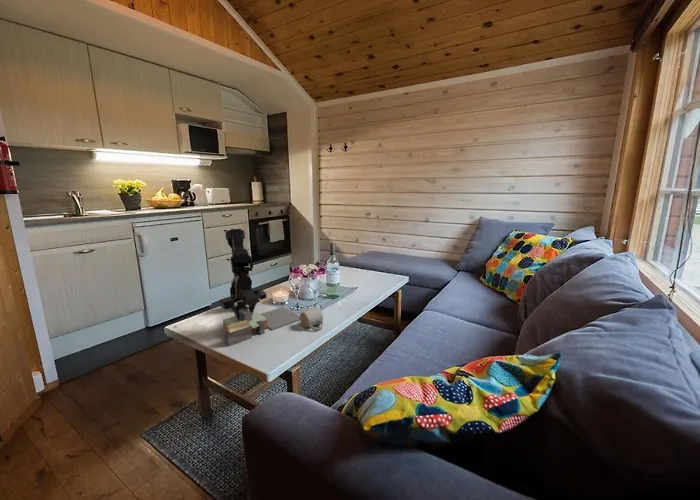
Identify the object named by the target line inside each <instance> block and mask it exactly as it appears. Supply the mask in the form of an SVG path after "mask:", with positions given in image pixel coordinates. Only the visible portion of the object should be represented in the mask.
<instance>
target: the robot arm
mask: <svg viewBox="0 0 700 500" xmlns="http://www.w3.org/2000/svg"><path fill="white" fill-rule="evenodd" d="M224 235H225V241H227V245H228V246H229V247H230V249H231V256H230V266H231V273H233V278H232V280H231V283H230V285H231V286H230V287H229V296H230V297H229V296H228V297H223V298H221V299H219V301H218V306H219V307H220V308H222V309H223V310H228V309H231V310H232V311H233V314H234V316H236V317H237V319H238V320H240V316H239V309H242V308H245V309H246V310H248V311H250V312H252V314H253V311H255V308H256V305H257V304H258V303H259V302H261V300H265V299H268V298H267V292H266V291H264V290H262V289H255V290H253V289H252V288H253V287H252V285H253V281H252V278H251V275H250V272H252V271H253V268H254V264H253V258H252V257H251V255H249V251H248V250H247V249H246V248H245V247H244V240H245V239H246V234H245V230H243V229H241V228H231V229H230V230H227V231H225V234H224Z"/></svg>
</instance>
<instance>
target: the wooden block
mask: <svg viewBox="0 0 700 500" xmlns="http://www.w3.org/2000/svg"><path fill="white" fill-rule="evenodd" d="M247 327H249V322H248V321H247V320H245V321H242V322H238V323H235V324H232V325H229V326H227V331H228V332H229V333H232V332H235V331H238V330H241V329H244V328H247Z"/></svg>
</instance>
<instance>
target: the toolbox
mask: <svg viewBox="0 0 700 500" xmlns="http://www.w3.org/2000/svg"><path fill="white" fill-rule="evenodd" d="M256 323H257V324H259V326H258V327H255V328H251V327H250V326H249V327H247V328H244V329H241V330H238V331H235V332H232V333H229V332H228V331H227V326H229V325H227V324H226V323H225V322H223V321H222V325H223V330H224V341H225V345H227V346H228V347H230V346H231V347H232V346H234V345H236V344H240V343H242V342H244V341H246V340H249V339H250V340H251V339H253V336H252V335H254V334H258V335H260V336H261V335H263V334H265V333H266V331H265V330H268V328H267V320H266V321H263V322H262V321H261V320H260V321H257V322H256Z"/></svg>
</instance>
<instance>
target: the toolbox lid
mask: <svg viewBox="0 0 700 500" xmlns="http://www.w3.org/2000/svg"><path fill="white" fill-rule="evenodd" d="M260 314H261V313H258V312H257V311H255V310H254V311H253V314H252V312H250V311H249V309H245V308H242V309H239V316H240V320H238V319H237V317H236V316H235V315H233V316H230V317H227V318H223V319H222V323H223V322H225V323H226V324H227V325H232V324H235V323H238V322H242V321H245V320H247V321H248V322H249V326H250V327H251V328H255V327H258V326H259V324H257V323H256V322H257V321H260V320H261V321H262V322H263V321H266V320H267V318H266V317H264V316H262V315H260Z"/></svg>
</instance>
